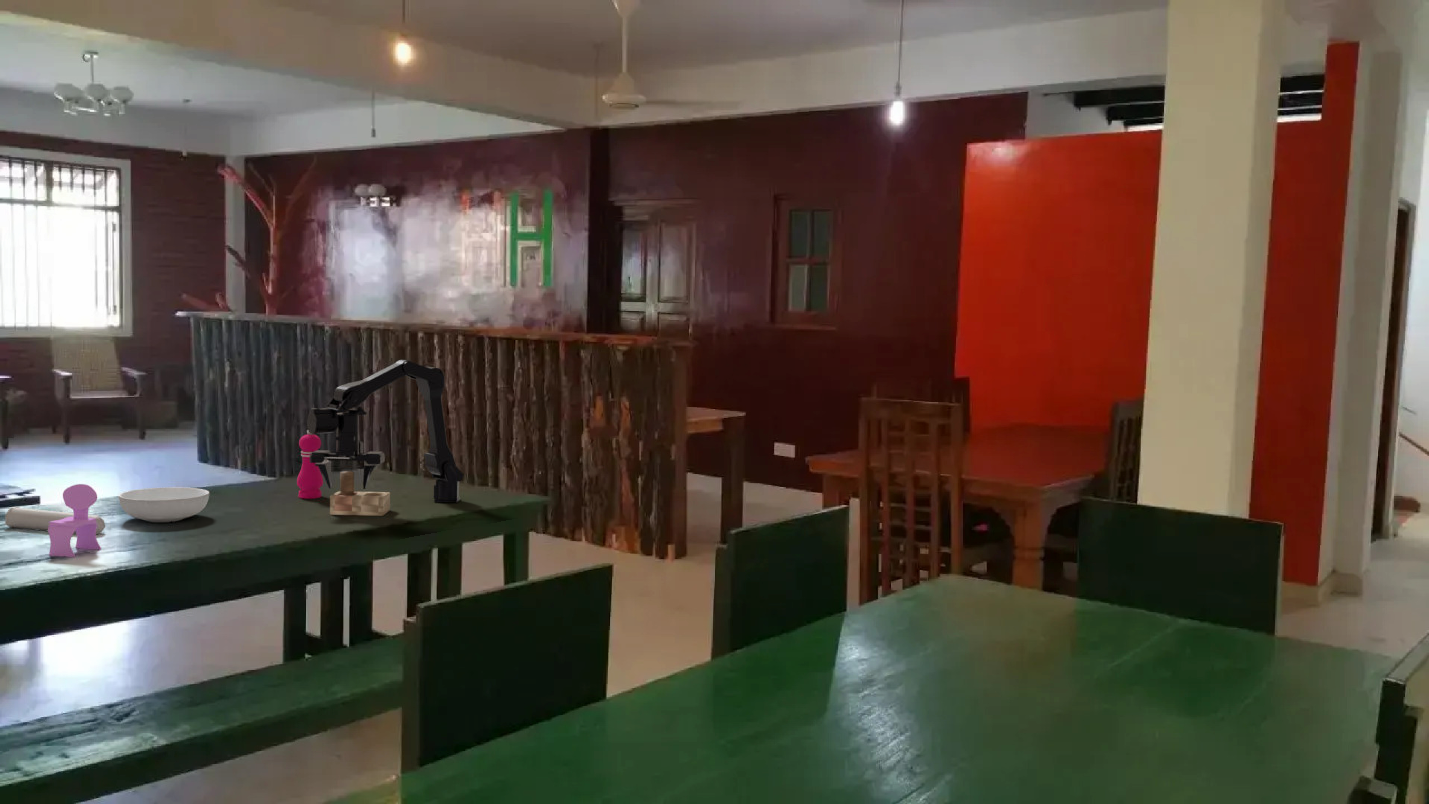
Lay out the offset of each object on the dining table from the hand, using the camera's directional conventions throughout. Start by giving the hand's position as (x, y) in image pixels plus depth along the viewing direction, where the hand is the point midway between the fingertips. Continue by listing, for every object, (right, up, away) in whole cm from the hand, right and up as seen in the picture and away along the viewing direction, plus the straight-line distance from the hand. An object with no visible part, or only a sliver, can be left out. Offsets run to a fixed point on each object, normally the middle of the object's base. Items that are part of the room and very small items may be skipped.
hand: (347, 488), depth 298 cm
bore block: (+3, -7, +1) cm, 7 cm away
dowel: (0, -5, 0) cm, 6 cm away
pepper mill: (-18, -4, +21) cm, 28 cm away
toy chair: (-42, -10, -55) cm, 70 cm away
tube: (-59, -8, -34) cm, 68 cm away
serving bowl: (-42, -7, -16) cm, 45 cm away
